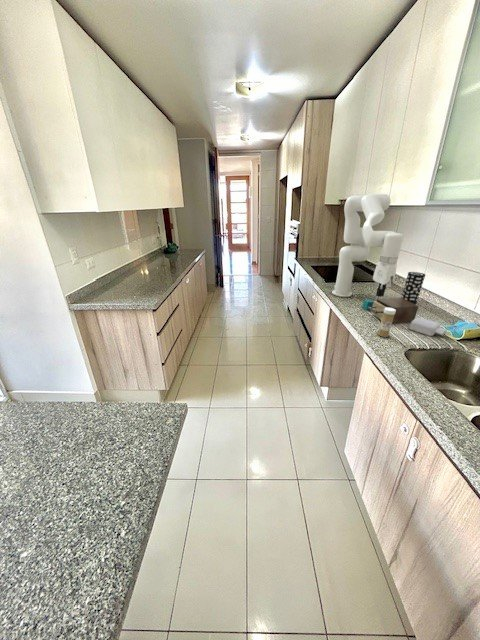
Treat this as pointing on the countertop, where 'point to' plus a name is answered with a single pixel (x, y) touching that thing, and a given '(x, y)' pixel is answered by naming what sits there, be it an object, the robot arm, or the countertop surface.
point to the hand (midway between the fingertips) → (379, 295)
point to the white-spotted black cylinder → (413, 286)
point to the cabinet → (401, 309)
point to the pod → (367, 304)
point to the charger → (427, 327)
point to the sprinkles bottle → (386, 322)
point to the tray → (377, 309)
